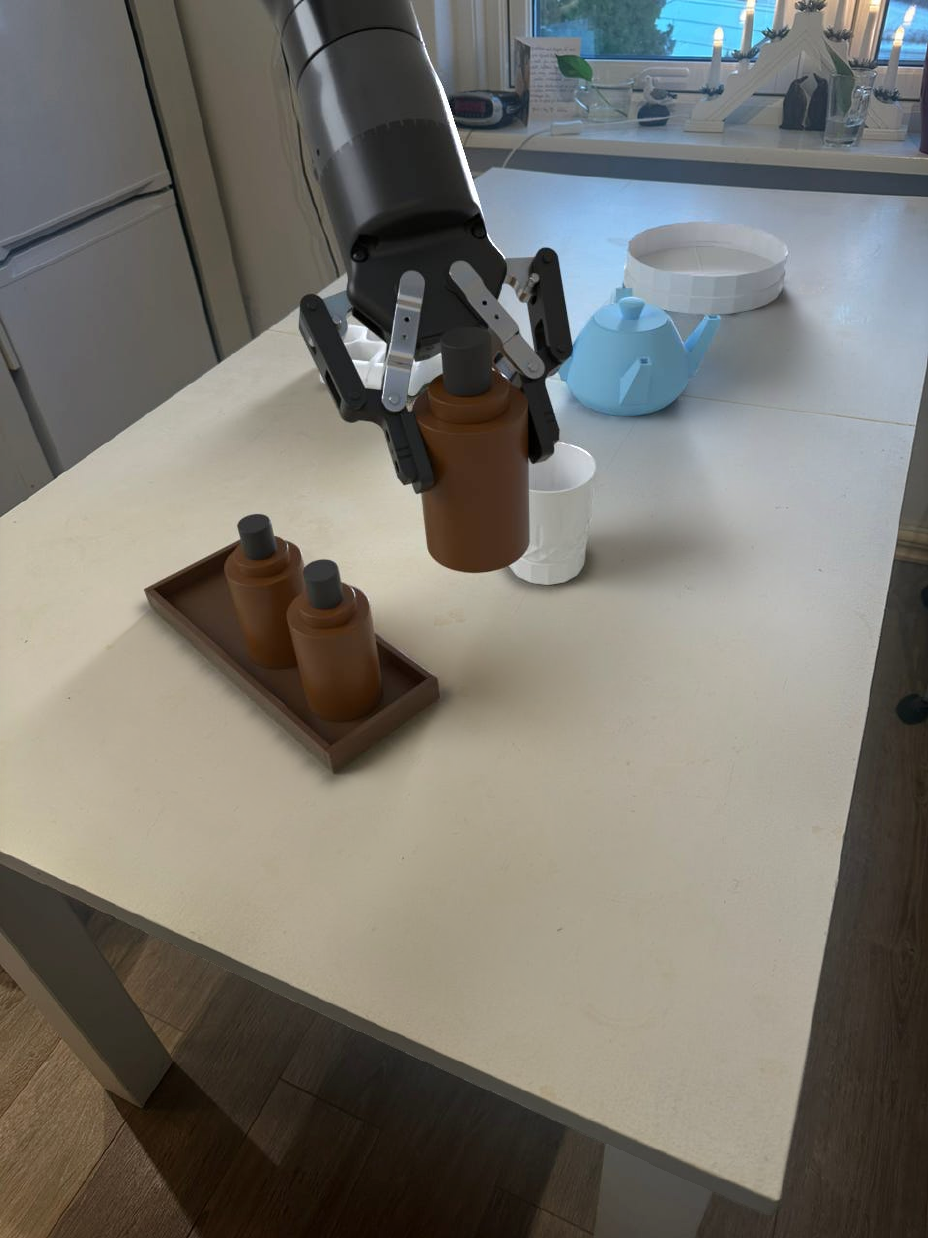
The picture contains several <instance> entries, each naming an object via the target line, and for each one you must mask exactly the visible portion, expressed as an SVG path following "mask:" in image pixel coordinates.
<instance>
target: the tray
mask: <svg viewBox="0 0 928 1238" xmlns="http://www.w3.org/2000/svg"><path fill="white" fill-rule="evenodd" d="M239 544H241V539H240V538H239V539H238V540H236V541H234V542H232V543H230V544H228V545H226V546H224V547H222V548H220V549H219V550H217V551H215V552H212V553H210V554H208V555H207V556H205V557H203V558H201V559H199V560H197V561H195V562H194V563H192V564H189V565H187V566H185V567H183V568H182V569H179V570H177V571H176V572H174V573H172V574H170V575H168V576H166V577H165V578H163V579H160V580H159V581H157V582H155V583H153V584H151V585H149V586H147V587H145V588H144V589H143V592H144V594H145V598H146V600H147V602H148V605H149V607H150V609H151V610H152V611H154V612H155V613H156V614H157V615H158V616H159V617H160V618H161V619H163V620H164V621H165V623H167V624H168V625H169V626H170V627H171V628H172V629H173V630H174V631H176V632H177V633H178V634H179V635H180V636H181V637H182V638H183V639H185V641H187V642H188V643H189V645H191V646H192V647H193V648H194V649H195V650H196V651H197V652H199V653H200V654H201V656H203V657H204V658H205V659H207V661H209V662H210V663H211V664H212V665H213V667H215V668H216V669H217V670H218V671H220V672H221V673H222V674H223V675H224V676H225V677H226V678H227V679H228V680H230V681H231V682H232V683H233V684H234V685H235V686H236V687H237V688H238V689H239V690H240V691H242V692H243V693H244V694H245V695H246V696H247V697H248V698H250V700H252V701H253V702H254V704H256V705H257V706H258V707H259V708H260V709H262V711H264V712H265V713H266V714H267V715H268V716H269V717H270V718H271V719H272V720H274V721H275V723H277V724H278V725H279V726H280V727H281V728H283V730H284V731H285V732H286V733H288V734H289V735H290V736H291V737H292V738H293V739H294V740H296V741H297V742H298V743H299V744H300V745H301V746H302V747H303V748H304V749H305V750H307V752H308V753H310V754H311V755H312V756H313V757H315V759H316V760H317V761H318V762H319V763H321V764H322V765H323V766H324V767H325V768H326V769H327V770H329V772H331V773H332V774H333V775H334V774H336V773H338V772H339V771H340V770H342V769H343V768H345V767H346V766H347V765H349V764H350V763H351V762H353V761H354V760H355V759H357V758H358V757H360V756H361V755H362V754H364V753H365V752H366V751H368V750H369V749H371V748H372V747H373V746H375V745H376V744H378V742H380V741H382V740H383V739H384V738H386V737H387V736H389V735H390V734H391V733H392V732H394V731H395V730H397V729H398V728H400V727H402V725H404V724H405V723H407V722H408V721H410V719H412V718H414V717H415V716H416V715H418V714H419V713H420V712H423V710H424V709H426V708H427V707H429V706H430V705H432V704H433V703H434V702H436V701H437V700H438V699H439V698H440V685H439V678H438V677H437V676H435V675H434V674H433V673H432V672H430V671H429V670H427V669H426V668H424V666H422V665H420V664H419V663H417V662H416V661H415V660H414V659H412V658H411V657H409V656H408V655H407V654H405V653H404V652H403V651H401V650H400V649H398V648H397V647H396V646H394V645H393V644H392V643H390V642H389V641H387V640H386V639H385V638H383V637H382V636H380V635H379V634H378V633H377V632H375V631H374V633H375V640H376V646H377V653H378V659H379V666H380V672H381V679H382V685H383V694H382V698H381V700H380V702H379V704H378V705H377V706H376V707H375V708H374V709H373V710H372V711H371V712H370V713H368V714H367V715H365V716H363V717H361V718H359V719H356V720H353V721H348V722H331V721H327V720H324V719H322V718H320V717H318V716H316V715H315V714H314V713H313V712H312V711H311V710H310V708H309V706H308V704H307V700H306V696H305V692H304V688H303V683H302V679H301V675H300V671H299V667H298V665H296V666H294V667H290V668H285V669H269V668H265V667H262V666H260V665H258V664H256V663H255V662H254V661H253V660H252V659H251V658H250V656H249V654H248V650H247V647H246V643H245V640H244V636H243V633H242V629H241V626H240V622H239V619H238V616H237V612H236V609H235V605H234V602H233V598H232V595H231V591H230V588H229V585H228V581H227V578H226V574H225V571H224V567H225V563H226V560H227V559H228V557H229V556H230V555H231V554H232V553H233V552H234V551H235V549H236V548H237V546H238V545H239Z"/></svg>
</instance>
